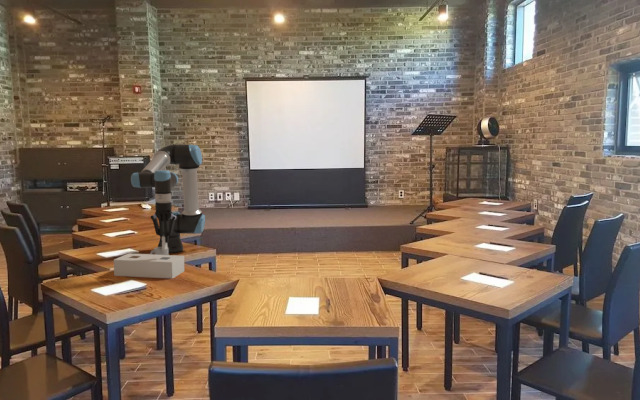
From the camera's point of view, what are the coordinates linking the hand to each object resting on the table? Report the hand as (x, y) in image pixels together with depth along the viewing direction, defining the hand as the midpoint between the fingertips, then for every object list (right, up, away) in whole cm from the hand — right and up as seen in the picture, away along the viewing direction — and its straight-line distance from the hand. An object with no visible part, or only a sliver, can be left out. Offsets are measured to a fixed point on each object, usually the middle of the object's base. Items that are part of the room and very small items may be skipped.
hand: (164, 248), depth 236 cm
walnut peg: (-16, -11, +3) cm, 20 cm away
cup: (-10, -11, +20) cm, 25 cm away
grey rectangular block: (-8, -12, +2) cm, 15 cm away
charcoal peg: (0, -12, +1) cm, 12 cm away
